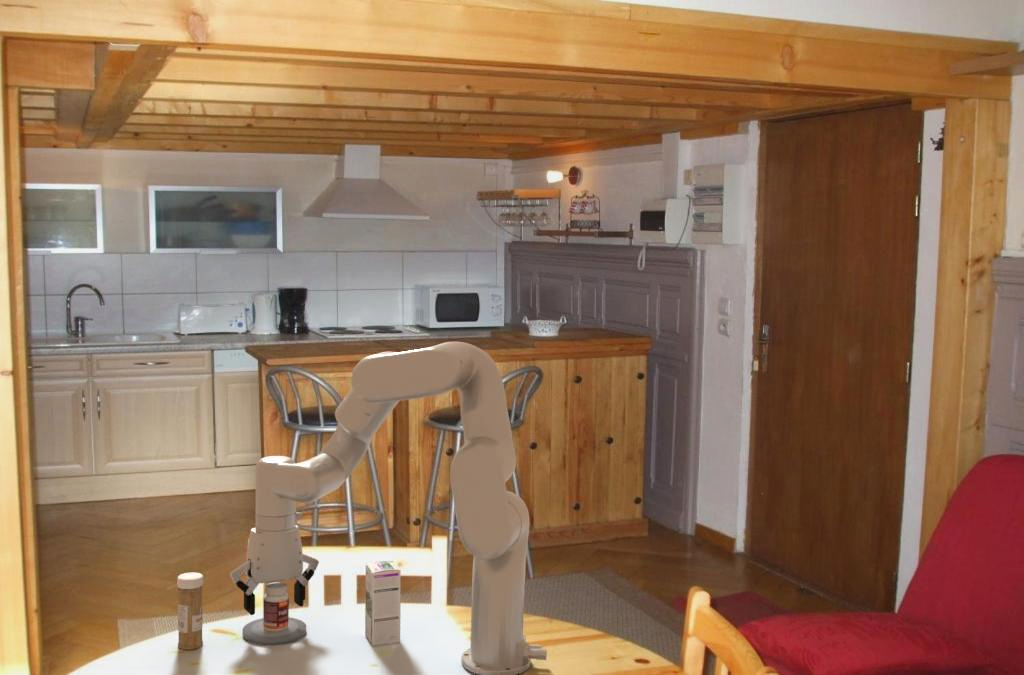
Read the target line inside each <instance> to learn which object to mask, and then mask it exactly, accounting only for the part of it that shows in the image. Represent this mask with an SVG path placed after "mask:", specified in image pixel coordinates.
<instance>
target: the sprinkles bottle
mask: <svg viewBox="0 0 1024 675" xmlns="http://www.w3.org/2000/svg"><path fill="white" fill-rule="evenodd" d="M176 583H177V589H178V591H177V593H178V597H177V598H178V599H177V600H178V601H177V630H178V642H177V647H178V648H179V649H181V650H185V651H189V650H196V649H200V648H201V647H202V646H203V644H204V640H203V585H204V576H203V574H202V573H200V572H193V571H192V572H191V571H190V572H185V573H181V574H179V575H177V579H176Z"/></svg>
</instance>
